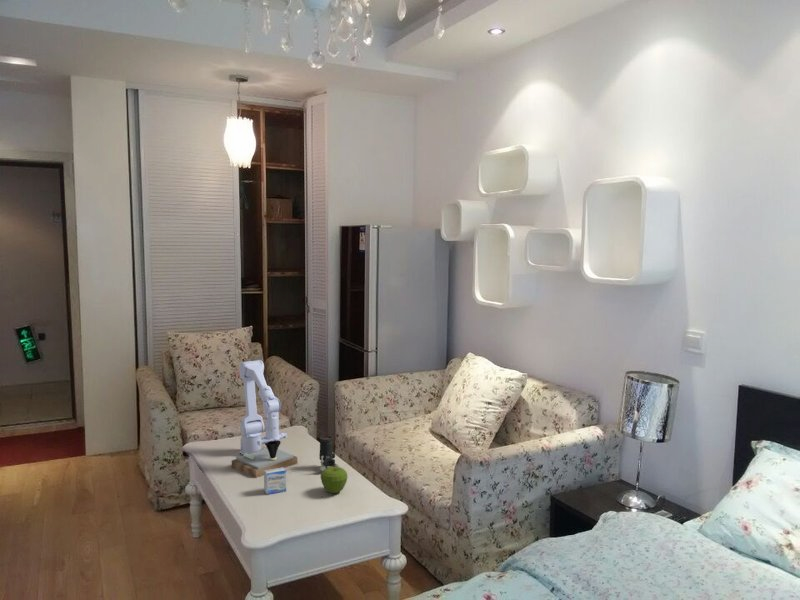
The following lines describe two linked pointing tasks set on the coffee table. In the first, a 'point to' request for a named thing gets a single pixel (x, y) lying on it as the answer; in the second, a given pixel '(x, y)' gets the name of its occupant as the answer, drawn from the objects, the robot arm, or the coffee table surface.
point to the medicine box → (274, 480)
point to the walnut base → (260, 472)
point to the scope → (326, 453)
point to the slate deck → (263, 458)
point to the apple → (334, 479)
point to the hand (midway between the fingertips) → (272, 457)
